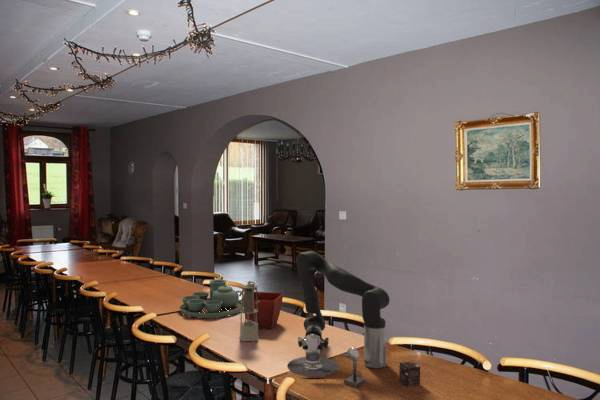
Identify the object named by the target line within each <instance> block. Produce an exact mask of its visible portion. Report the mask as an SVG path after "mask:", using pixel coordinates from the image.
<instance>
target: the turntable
mask: <svg viewBox="0 0 600 400" xmlns="http://www.w3.org/2000/svg"><path fill="white" fill-rule="evenodd" d="M305 358H306V356H302V357H301V356H300V357H298V358H293V359H292V360H289V362H288V363H287V369H288V370H289V371H290V372H291V373H293V374H295V375H299V376H304V377H302V379H303V380H323V379H326V378H325V377H324V378H323V376H329V375H331V374H334V373H336V372H337V371H338V370H339V367H340V366H339V364H338V362H337V361H335V360H333V359H330V358H327V357H324V356H320V364H318V365H308V364H306V363H305Z"/></svg>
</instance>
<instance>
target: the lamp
mask: <svg viewBox="0 0 600 400" xmlns="http://www.w3.org/2000/svg"><path fill="white" fill-rule="evenodd" d="M241 288H242V289H241V290H242V291H241V292H242V294H241V299H242V301H241V302H242V310H241V311H240V312H239V313H240V324H239V327H240V328H239V329H240V331H239V337H238V340H239V339H240V340H241V341H240V340H239V341H240V342H243V341H254V342H256V341H258V340H260V337H259V328H258V323H257V312H258V307H257V309H254V292H256V303H255V304H257V306H258V303H259V302H260V301H259V302H258V299H257V292H258V293H259V292H260V291H258V285H256V283H255V282H254V281H250V280H249V281H247V284H244V285H242V286H241ZM259 294H260V293H259ZM243 295H244V298H245V306H244V299H243ZM246 313H247V317H248V314H252V313H254V320H255V313H256V322H255V321H254V322H252V320H249V321H247V320H246ZM242 314H244V321H243V320H242V318H243V315H242ZM247 319H248V318H247ZM257 339H258V340H257ZM255 340H256V341H255Z"/></svg>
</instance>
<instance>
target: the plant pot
mask: <svg viewBox="0 0 600 400" xmlns="http://www.w3.org/2000/svg"><path fill="white" fill-rule="evenodd" d="M258 292H259V293H260V294H259V293H258ZM258 292H257V299H258V302H259V301H260V302H259V303H258V306H257V304H255V303H256V291H254V309H257V307H258V312H257V323H258V329H264V328H267V329H269V330H270V328H271V329H272V328H273V327H274V326H275V325H277V323H278V321H279V317H280V315H281V314H280V313H281V309H282V305H283V300H284V299H283V298H284V293H282V292H271V291H270V292H268V291H265V292H264V291H258ZM243 299H244V306H245V298H243ZM247 318H248V319H247ZM249 320H252V322H254V321H255V322H256V313H255V320H254V313H252V314H248V317H247V313H246V321H249ZM267 329H266V330H267Z"/></svg>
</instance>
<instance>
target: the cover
mask: <svg viewBox="0 0 600 400" xmlns="http://www.w3.org/2000/svg"><path fill="white" fill-rule="evenodd" d="M320 352H321V351H320V336H318V335H316V334H310V335H307V336H306V350H305V357H306V358H305V363H306V364H308V365H318V364H320V357H321V355H320Z"/></svg>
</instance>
